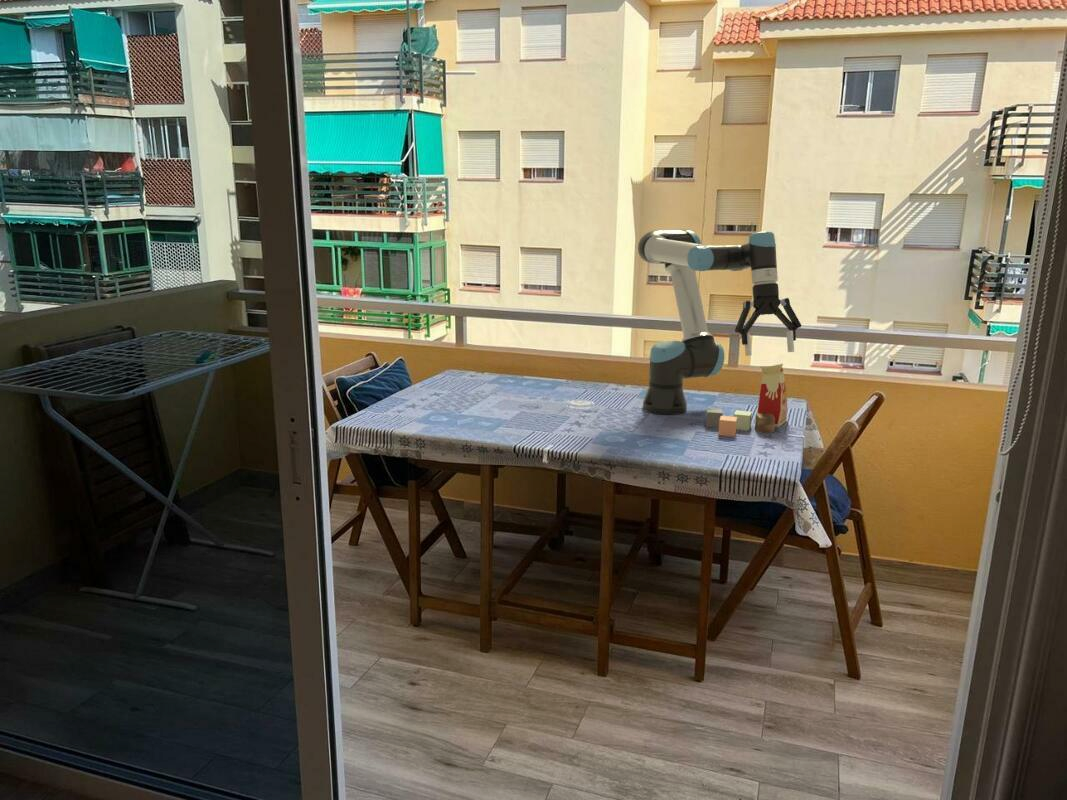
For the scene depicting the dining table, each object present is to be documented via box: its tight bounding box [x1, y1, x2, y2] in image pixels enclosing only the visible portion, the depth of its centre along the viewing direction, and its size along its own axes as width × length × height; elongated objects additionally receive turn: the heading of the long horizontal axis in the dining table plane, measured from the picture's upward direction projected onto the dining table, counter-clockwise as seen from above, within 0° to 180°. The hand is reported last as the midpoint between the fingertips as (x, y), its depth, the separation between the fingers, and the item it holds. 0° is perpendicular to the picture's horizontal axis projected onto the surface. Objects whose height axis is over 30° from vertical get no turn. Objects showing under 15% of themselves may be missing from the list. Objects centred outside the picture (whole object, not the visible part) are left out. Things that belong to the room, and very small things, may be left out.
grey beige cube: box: [704, 407, 724, 428], centre depth 252 cm, size 5×5×5 cm
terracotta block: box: [717, 415, 737, 437], centre depth 244 cm, size 5×5×5 cm
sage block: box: [733, 409, 753, 431], centre depth 250 cm, size 5×5×5 cm
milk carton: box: [755, 363, 788, 428], centre depth 254 cm, size 9×9×20 cm
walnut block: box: [754, 412, 776, 434], centre depth 247 cm, size 5×5×5 cm
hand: (769, 353), depth 236 cm, fingers open, 13 cm apart
